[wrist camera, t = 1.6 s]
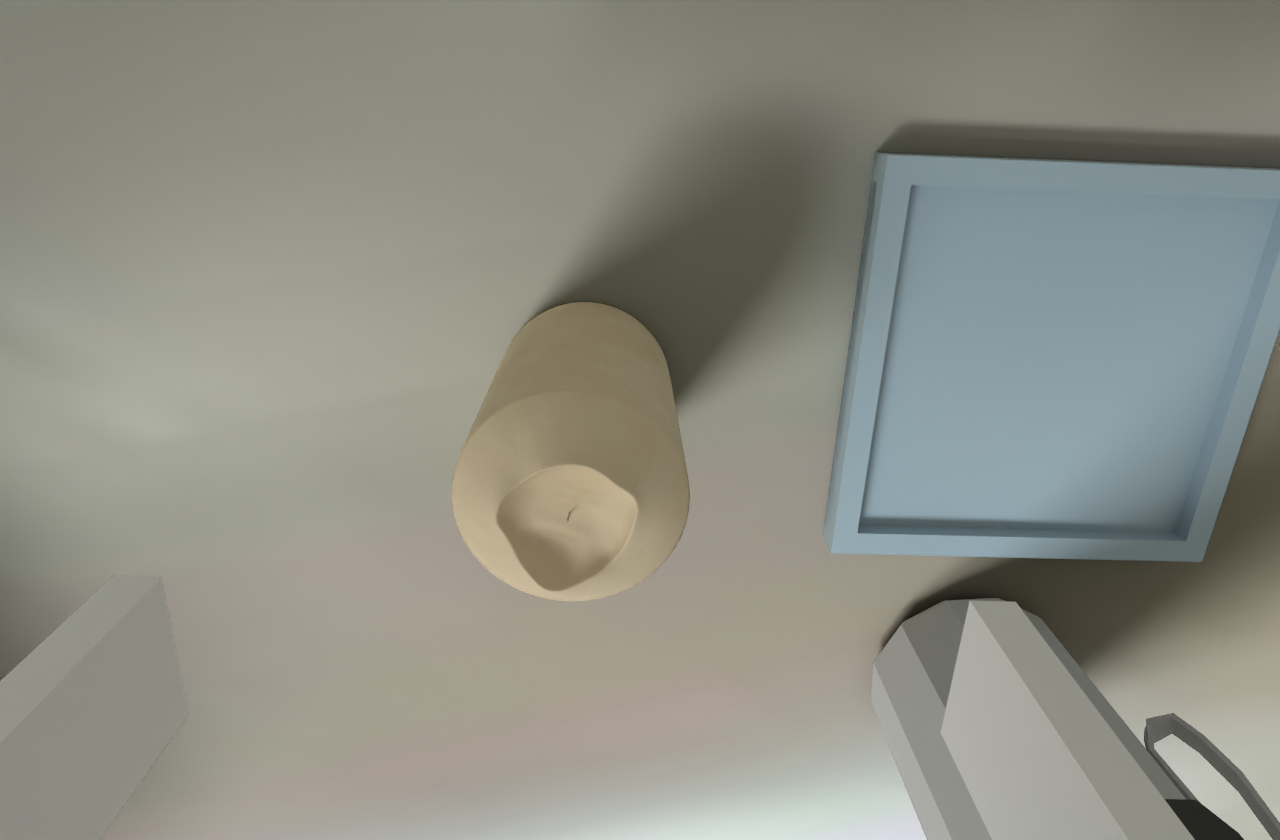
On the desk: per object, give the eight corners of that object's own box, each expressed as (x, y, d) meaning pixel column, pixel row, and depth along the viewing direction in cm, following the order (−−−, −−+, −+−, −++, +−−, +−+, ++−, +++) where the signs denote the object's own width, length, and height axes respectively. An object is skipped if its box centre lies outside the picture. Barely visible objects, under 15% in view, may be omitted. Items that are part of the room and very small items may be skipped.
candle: (635, 479, 28) (642, 666, 19) (480, 428, 28) (408, 598, 18) (695, 333, 26) (734, 462, 17) (531, 274, 26) (480, 375, 16)
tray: (822, 535, 29) (831, 553, 28) (875, 152, 25) (887, 155, 23) (1180, 544, 30) (1202, 561, 29) (1299, 169, 25) (1331, 172, 24)
